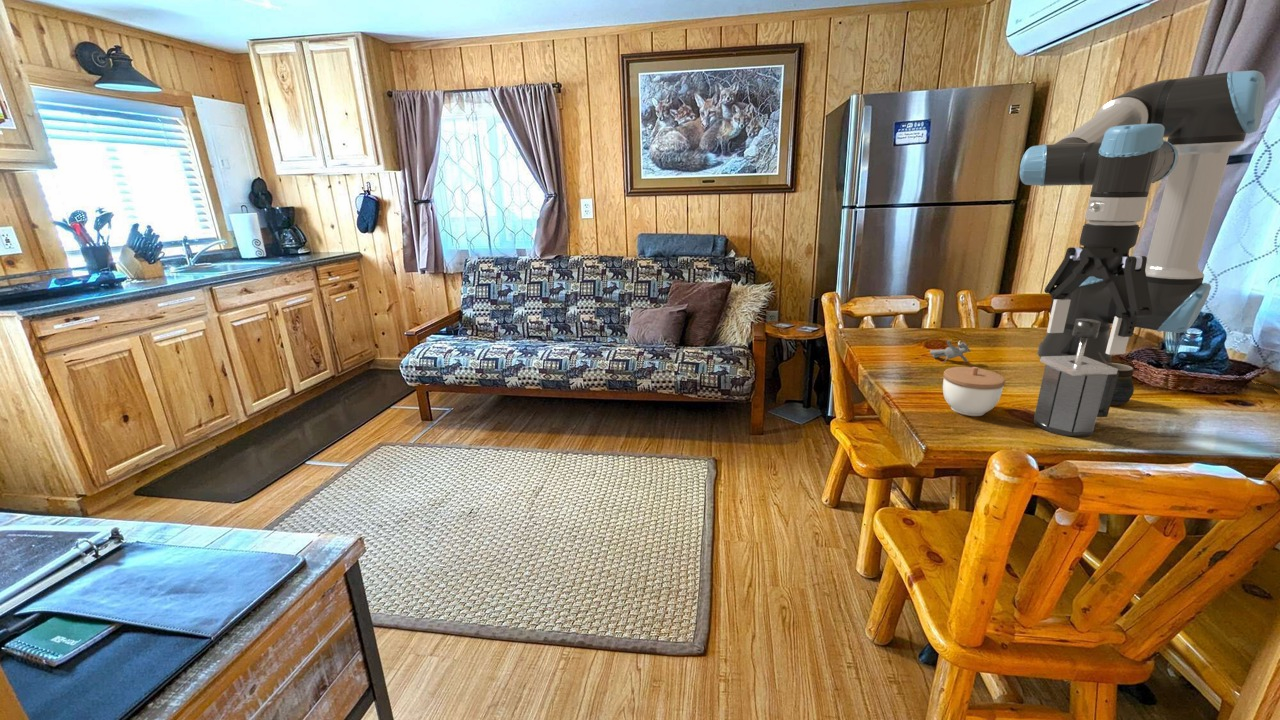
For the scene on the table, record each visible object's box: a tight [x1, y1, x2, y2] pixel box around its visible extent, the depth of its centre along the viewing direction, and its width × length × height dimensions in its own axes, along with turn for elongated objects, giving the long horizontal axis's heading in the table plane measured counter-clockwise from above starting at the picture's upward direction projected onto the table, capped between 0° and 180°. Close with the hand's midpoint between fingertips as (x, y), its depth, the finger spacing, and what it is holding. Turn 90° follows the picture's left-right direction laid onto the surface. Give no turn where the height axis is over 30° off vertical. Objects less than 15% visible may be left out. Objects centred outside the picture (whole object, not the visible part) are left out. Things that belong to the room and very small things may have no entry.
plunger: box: [1072, 319, 1101, 365], centre depth 101 cm, size 6×6×18 cm
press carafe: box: [1033, 355, 1119, 438], centre depth 102 cm, size 12×9×13 cm
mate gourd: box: [1098, 352, 1135, 407], centre depth 114 cm, size 7×8×10 cm
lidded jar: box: [942, 366, 1006, 417], centre depth 111 cm, size 11×11×9 cm
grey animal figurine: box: [929, 339, 971, 363], centre depth 141 cm, size 10×6×9 cm
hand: (1082, 342), depth 99 cm, fingers open, 13 cm apart
